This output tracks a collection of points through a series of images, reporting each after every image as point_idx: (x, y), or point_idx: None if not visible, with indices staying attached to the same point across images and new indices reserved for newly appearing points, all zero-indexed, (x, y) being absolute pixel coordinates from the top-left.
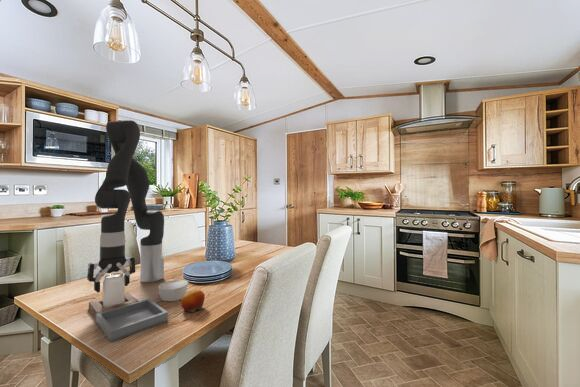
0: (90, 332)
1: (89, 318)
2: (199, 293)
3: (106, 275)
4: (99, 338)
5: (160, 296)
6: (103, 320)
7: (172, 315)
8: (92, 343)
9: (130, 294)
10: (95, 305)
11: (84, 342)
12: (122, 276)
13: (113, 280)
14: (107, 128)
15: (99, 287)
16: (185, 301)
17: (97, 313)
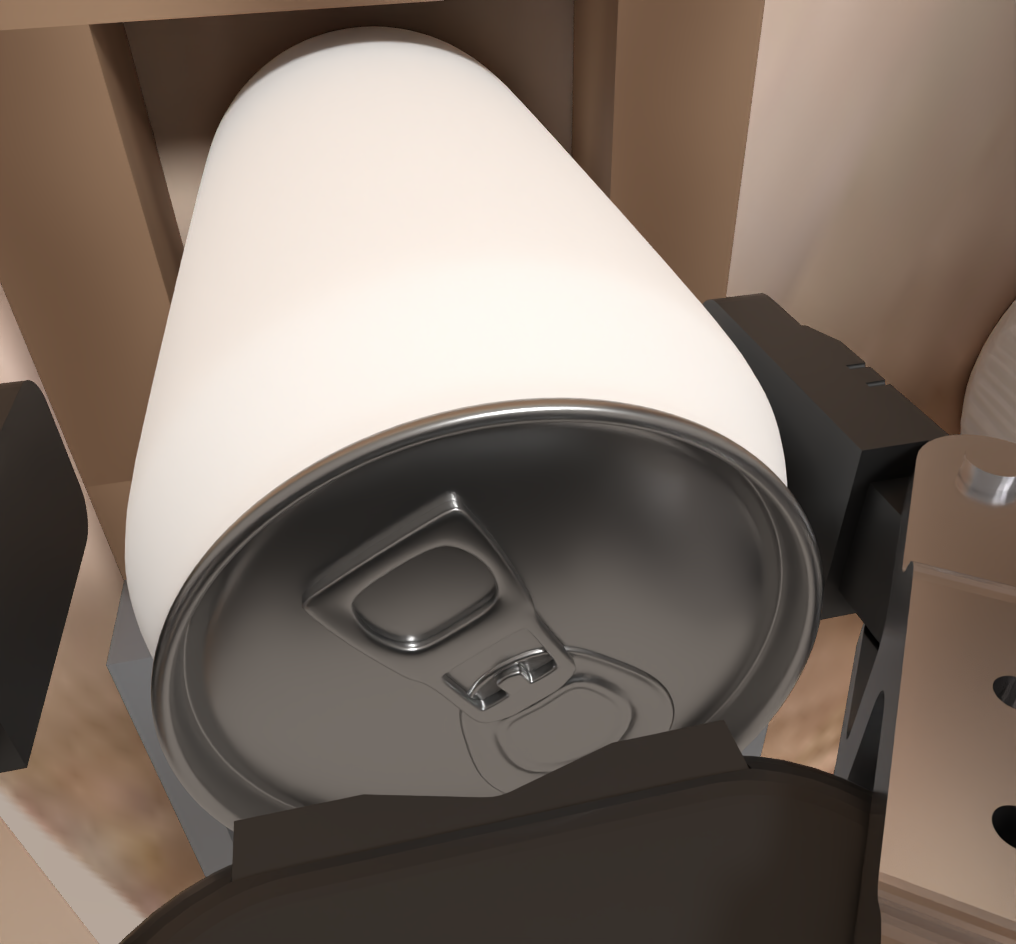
0: (91, 728)
1: (11, 375)
2: None
3: (236, 538)
4: (184, 838)
5: (989, 408)
6: (208, 839)
7: (776, 749)
8: (133, 876)
9: (750, 70)
10: (46, 245)
11: (64, 847)
12: (719, 701)
13: None
14: None
15: (50, 626)
16: None
17: (126, 662)
